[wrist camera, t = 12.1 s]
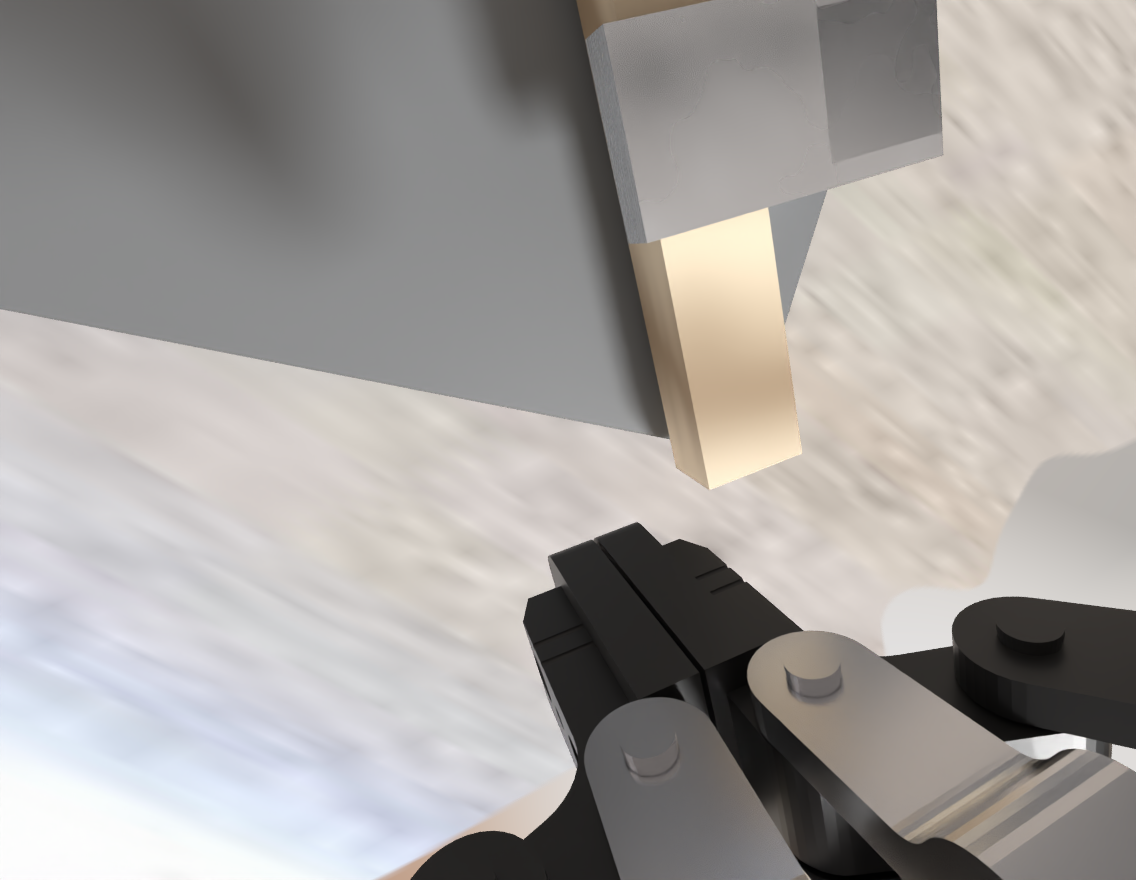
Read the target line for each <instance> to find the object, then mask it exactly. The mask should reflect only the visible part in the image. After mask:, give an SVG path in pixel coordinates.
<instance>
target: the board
mask: <svg viewBox="0 0 1136 880" xmlns="http://www.w3.org/2000/svg"><path fill="white" fill-rule="evenodd" d="M826 192H827V190H825V191H821V192H818V193H815V194H811V195H808V196H804V197H801V198H798V199H794V200H791V201H788V202H784V203H781V204H778V205H774V206H771V207H768V210H769V217H770V225H771V232H772V239H773V246H774V253H775V261H776V268H777V275H778V282H779V290H780V297H781V304H782V311H783V318H784V325H785V322H786V319H787V316H788V313H789V309H790V306H791V303H792V300H793V297H794V294H795V290H796V287H797V284H798V281H799V278H800V275H801V271H802V268H803V265H804V262H805V259H806V256H807V252H808V249H809V246H810V243H811V240H812V237H813V234H814V230H815V227H816V224H817V221H818V218H819V215H820V211H821V208H822V205H823V202H824V199H825V196H826ZM0 309H3V310H8V311H13V312H18V313H24V314H29V315H34V316H39V317H44V318H49V319H54V320H60V321H65V322H70V323H75V324H80V325H85V326H90V327H96V328H101V329H106V330H111V331H116V332H121V333H126V334H132V335H137V336H142V337H147V338H152V339H157V340H162V341H168V342H173V343H178V344H183V345H188V346H193V347H198V348H204V349H209V350H214V351H219V352H224V353H229V354H234V355H240V356H245V357H250V358H255V359H260V360H265V361H270V362H276V363H281V364H286V365H291V366H296V367H301V368H306V369H312V370H317V371H322V372H327V373H332V374H337V375H342V376H348V377H353V378H358V379H363V380H368V381H373V382H378V383H384V384H389V385H394V386H399V387H404V388H409V389H414V390H420V391H425V392H430V393H435V394H440V395H445V396H450V397H456V398H461V399H466V400H471V401H476V402H481V403H486V404H492V405H497V406H502V407H507V408H512V409H517V410H522V411H528V412H533V413H538V414H543V415H548V416H553V417H558V418H564V419H569V420H574V421H579V422H584V423H589V424H594V425H600V426H605V427H610V428H615V429H620V430H625V431H630V432H636V433H641V434H646V435H651V436H656V437H661V438H666V439H670V436H669V432H668V427H667V422H666V418H665V413H664V408H663V404H662V399H661V394H660V390H659V385H658V380H657V375H656V371H655V366H654V361H653V357H652V352H651V347H650V343H649V338H648V333H647V329H646V324H645V319H644V315H643V310H642V305H641V301H640V296H639V291H638V287H637V282H636V277H635V273H634V268H633V263H632V259H631V254H630V249H629V245H628V240H627V235H626V231H625V226H624V221H623V216H622V212H621V207H620V202H619V198H618V193H617V188H616V184H615V179H614V174H613V170H612V165H611V160H610V156H609V151H608V146H607V142H606V137H605V132H604V128H603V123H602V118H601V114H600V109H599V104H598V100H597V95H596V90H595V86H594V81H593V76H592V72H591V67H590V62H589V57H588V53H587V48H586V43H585V39H584V34H583V29H582V25H581V20H580V15H579V11H578V6H577V1H576V0H0Z"/></svg>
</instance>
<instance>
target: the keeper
mask: <svg viewBox="0 0 1136 880" xmlns="http://www.w3.org/2000/svg"><path fill="white" fill-rule="evenodd" d="M585 41H586V46H587V51H588V56H589V60H590V65H591V70H592V75H593V79H594V84H595V89H596V93H597V98H598V103H599V108H600V112H601V117H602V122H603V127H604V131H605V136H606V141H607V145H608V150H609V155H610V160H611V164H612V169H613V174H614V178H615V183H616V188H617V193H618V197H619V202H620V207H621V212H622V216H623V221H624V226H625V230H626V235H627V240H628V244H637V243H650V242H653V241H657V240H660V239H663V238H667V237H670V236H673V235H677V234H680V233H684V232H687V231H690V230H694V229H697V228H700V227H704V226H707V225H710V224H714V223H717V222H720V221H724V220H727V219H731V218H734V217H737V216H741V215H744V214H747V213H751V212H754V211H757V210H761V209H764V208H768V207H771V206H774V205H778V204H781V203H784V202H788V201H791V200H794V199H798V198H801V197H804V196H808V195H811V194H815V193H818V192H821V191H825V190H828V189H831V188H835V187H838V186H841V185H845V184H848V183H852V182H855V181H858V180H862V179H865V178H868V177H872V176H875V175H878V174H882V173H885V172H888V171H892V170H895V169H899V168H902V167H905V166H909V165H912V164H915V163H919V162H922V161H925V160H929V159H932V158H936V157H939V156H942V155H943V136H942V114H941V92H940V71H939V49H938V27H937V5H936V0H712V1H707V2H703V3H698V4H693V5H689V6H684V7H679V8H675V9H670V10H665V11H661V12H656V13H652V14H647V15H642V16H638V17H633V18H628V19H624V20H619V21H614V22H610V23H605V24H602V25H601V26H600V27H599V28H598V29H597V30H596V31H595V32H593V33H592V34H591V35H590V36H589V37H588V38H587V39H585Z"/></svg>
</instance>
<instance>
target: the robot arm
mask: <svg viewBox="0 0 1136 880" xmlns="http://www.w3.org/2000/svg"><path fill="white" fill-rule="evenodd" d="M548 561H549V566H550V570H551V573H552V577H553V580H554V583H555V587H556V588H554V589H552V590H549V591H547V592H544V593H542V594H539V595H537V596H534V597H532V598H529V599H528V602H527V607H526V611H525V616H524V620H523V624H524V627H525V630H526V633H527V636H528V639H529V642H530V645H531V648H532V651H533V654H534V657H535V660H536V663H537V667H538V670H539V673H540V676H541V679H542V682H543V685H544V688H545V691H546V694H547V697H548V700H549V703H550V705H551V708H552V710H553V713H554V715H555V717H556V720H557V722H558V725H559V727H560V729H561V732H562V734H563V737H564V739H565V742H566V744H567V746H568V748H569V751H570V753H571V756H572V758H573V761H574V763H575V766H576V768H577V771H576V775H575V779H574V781H573V784H572V786H571V789H570V791H569V792H568V794H567V796H566V797H565V799H564V801H563V802H562V803H561V804H560V806H559V807H558V808H557V810H556V811H555V812H554V813H553V814H552V815H551V816H550V817H549V818H548V819H547V820H546V821H544V822H543V823H542V824H541V825H540V826H539V827H538V828H536V829H535V830H534V831H533V832H532V833H531V834H529V835H528V836H527V837H526V838H525V839H524V840H523V839H521V838H519V837H517V836H516V835H513V834H510V833H505V832H500V831H486V832H478V833H474V834H470V835H467V836H464V837H462V838H460V839H457V840H455V841H453V842H451V843H450V844H448V845H446V846H445V847H443V848H442V849H440V850H439V851H438V852H436V853H435V854H434V855H432V856H431V857H430V858H429V859H428V860H427V861H426V862H425V863H424V864H423V865H422V866H421V867H420V868H419V870H418V871H417V872H416V873H415V874H414V876H413V877H412V878H411V880H1136V772H1135V771H1133V770H1131V769H1130V768H1128V767H1126V766H1124V765H1123V764H1121V763H1119V762H1117V761H1115V760H1113V759H1111V754H1112V744H1115V745H1120V746H1124V747H1129V748H1134V749H1136V611H1132V610H1124V609H1116V608H1108V607H1100V606H1092V605H1084V604H1076V603H1068V602H1061V601H1053V600H1045V599H1037V598H1028V597H999V598H992V599H987V600H983V601H980V602H977V603H974V604H972V605H970V606H968V607H966V608H965V609H964V610H962V611H961V612H960V613H959V614H958V615H957V617H956V618H955V620H954V622H953V625H952V640H953V646H951V647H944V648H938V649H932V650H926V651H920V652H914V653H907V654H901V655H894V656H878V655H877V654H875V653H874V652H872V651H871V650H869V649H868V648H866V647H865V646H863V645H862V644H860V643H858V642H857V641H855V640H853V639H850V638H848V637H845V636H842V635H839V634H835V633H830V632H824V631H803V630H802V629H801V628H800V627H799V626H797V625H796V624H795V623H794V622H793V621H792V620H790V619H789V618H788V617H787V616H786V615H785V614H783V613H782V612H781V611H780V610H779V609H778V608H776V607H775V606H774V605H773V604H772V603H771V602H769V601H768V600H767V599H766V598H765V597H764V596H763V595H761V594H760V593H759V592H758V591H757V590H756V589H754V588H753V587H752V586H751V585H750V584H749V583H747V582H744V581H743V579H742V577H740V576H739V575H738V574H737V573H736V572H735V571H733V570H732V569H731V568H728V567H727V565H726V564H725V563H724V562H723V561H722V560H721V559H719V558H718V557H717V556H716V555H715V554H714V553H712V552H711V551H710V550H709V549H708V548H705V547H702V546H699V545H696V544H693V543H690V542H687V541H684V540H681V539H678V540H676V541H673V542H671V543H668V544H666V545H663V546H662V545H661V544H660V543H659V542H658V541H657V540H656V539H655V538H654V537H653V536H652V535H651V534H650V533H649V532H648V531H647V530H646V529H645V528H644V527H643V526H642V525H641V524H640V523H638V522H636V523H633V524H630V525H628V526H625V527H623V528H620V529H617V530H615V531H612V532H609V533H607V534H604V535H602V536H599V537H596V538H594V541H593V540H589V541H586V542H584V543H581V544H579V545H576V546H573V547H571V548H568V549H566V550H563V551H560V552H558V553H555V554H552V555H550V556H548Z"/></svg>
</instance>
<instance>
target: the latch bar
mask: <svg viewBox="0 0 1136 880" xmlns="http://www.w3.org/2000/svg"><path fill="white" fill-rule="evenodd" d="M576 1H577V6H578V11H579V15H580V20H581V25H582V29H583V34H584V39H587V38H588V37H589V36H590V35H591V34H592V33H593V32H595V31H596V30H597V29H598V28H599V27H600V26H601V25H602V24H605V23H610V22H614V21H619V20H624V19H628V18H633V17H638V16H642V15H647V14H652V13H656V12H661V11H665V10H670V9H675V8H679V7H684V6H689V5H693V4H698V3H703V2H707V1H712V0H576ZM585 43H586V41H585ZM586 48H587V46H586ZM587 53H588V51H587ZM588 57H589V56H588ZM589 62H590V60H589ZM590 67H591V65H590ZM591 72H592V70H591ZM592 76H593V75H592ZM593 81H594V79H593ZM594 86H595V84H594ZM595 90H596V89H595ZM596 95H597V93H596ZM597 100H598V98H597ZM598 104H599V103H598ZM599 109H600V108H599ZM600 114H601V112H600ZM601 118H602V117H601ZM602 123H603V122H602ZM603 128H604V127H603ZM604 132H605V131H604ZM605 137H606V136H605ZM606 142H607V141H606ZM607 146H608V145H607ZM608 151H609V150H608ZM609 156H610V155H609ZM611 165H612V164H611ZM612 170H613V169H612ZM614 179H615V178H614ZM615 184H616V183H615ZM618 198H619V197H618ZM625 231H626V230H625ZM628 245H629V249H630V254H631V259H632V263H633V268H634V273H635V277H636V282H637V287H638V291H639V296H640V301H641V305H642V310H643V315H644V319H645V324H646V329H647V333H648V338H649V343H650V347H651V352H652V357H653V361H654V366H655V371H656V375H657V380H658V385H659V390H660V394H661V399H662V404H663V408H664V413H665V418H666V422H667V427H668V432H669V436H670V441H671V446H672V450H673V455H674V460H675V464H676V468H677V469H679V470H680V471H682V472H683V473H685V474H686V475H688V476H689V477H691V478H692V479H694V480H695V481H697V482H698V483H700V484H701V485H703V486H704V487H706V488H707V489H709V490H711V489H714V488H716V487H719V486H721V485H724V484H726V483H729V482H731V481H734V480H736V479H739V478H741V477H744V476H746V475H749V474H751V473H754V472H756V471H759V470H761V469H764V468H767V467H769V466H772V465H774V464H777V463H779V462H782V461H784V460H787V459H789V458H792V457H794V456H797V455H799V454H802V449H801V441H800V434H799V427H798V420H797V412H796V405H795V398H794V391H793V384H792V376H791V369H790V362H789V355H788V347H787V340H786V333H785V326H784V318H783V311H782V304H781V297H780V290H779V282H778V275H777V268H776V261H775V253H774V246H773V239H772V232H771V225H770V217H769V210H768V208H764V209H761V210H757V211H754V212H751V213H747V214H744V215H741V216H737V217H734V218H731V219H727V220H724V221H720V222H717V223H714V224H710V225H707V226H704V227H700V228H697V229H694V230H690V231H687V232H684V233H680V234H677V235H673V236H670V237H667V238H663V239H660V240H657V241H653V242H650V243H637V244H628Z"/></svg>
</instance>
